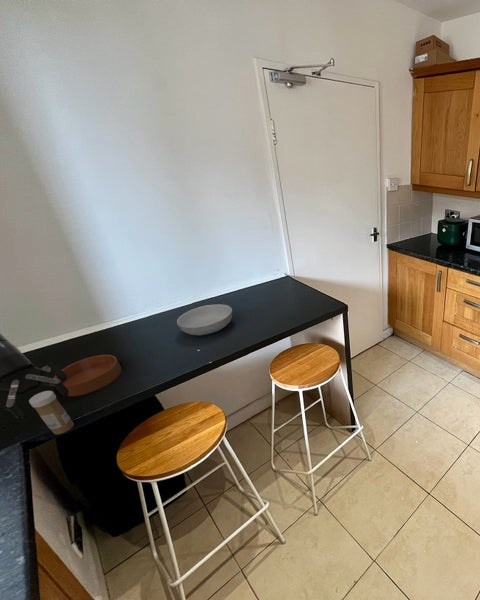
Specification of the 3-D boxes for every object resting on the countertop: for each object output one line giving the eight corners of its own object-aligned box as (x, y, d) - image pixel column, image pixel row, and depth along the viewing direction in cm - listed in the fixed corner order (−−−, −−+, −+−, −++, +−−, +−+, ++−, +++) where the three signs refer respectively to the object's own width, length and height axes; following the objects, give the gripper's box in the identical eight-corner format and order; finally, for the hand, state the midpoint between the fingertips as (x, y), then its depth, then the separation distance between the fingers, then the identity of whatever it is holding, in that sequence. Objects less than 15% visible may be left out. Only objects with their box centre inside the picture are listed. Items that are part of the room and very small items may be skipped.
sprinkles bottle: (80, 426, 91) (57, 391, 84) (62, 439, 87) (37, 403, 80) (68, 423, 91) (44, 388, 85) (49, 436, 87) (23, 401, 81)
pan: (63, 404, 98) (55, 393, 96) (56, 381, 108) (50, 371, 106) (126, 377, 109) (121, 367, 107) (116, 359, 119) (111, 349, 117)
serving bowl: (245, 323, 141) (241, 310, 138) (198, 347, 125) (193, 333, 122) (218, 312, 151) (214, 299, 147) (172, 332, 135) (166, 319, 131)
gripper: (-40, 372, 76) (8, 421, 77) (38, 342, 88) (79, 384, 89) (-35, 383, 81) (10, 429, 82) (39, 352, 92) (78, 393, 93)
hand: (46, 405), depth 85 cm, fingers open, 8 cm apart
